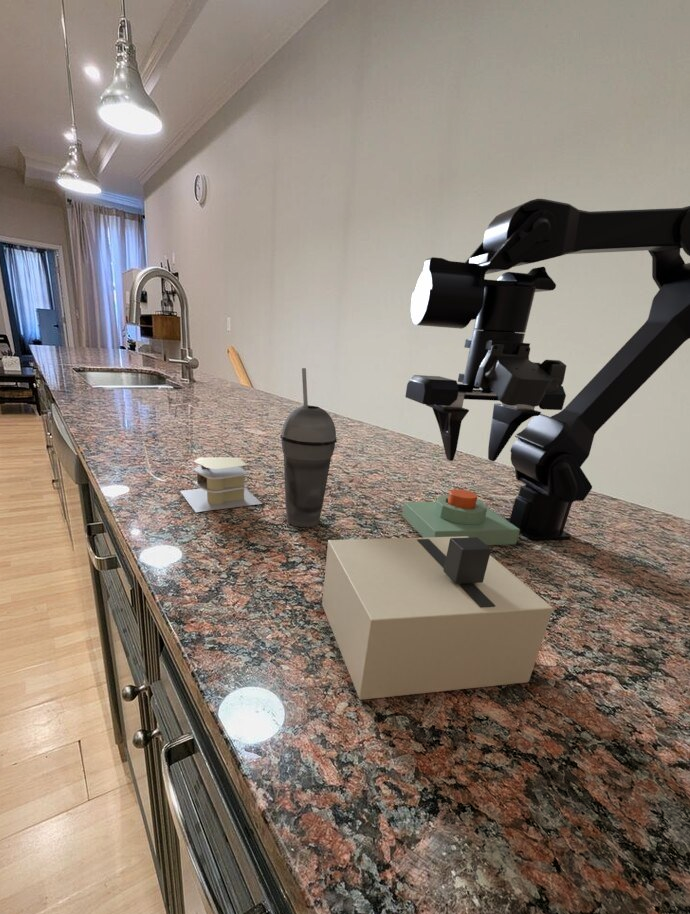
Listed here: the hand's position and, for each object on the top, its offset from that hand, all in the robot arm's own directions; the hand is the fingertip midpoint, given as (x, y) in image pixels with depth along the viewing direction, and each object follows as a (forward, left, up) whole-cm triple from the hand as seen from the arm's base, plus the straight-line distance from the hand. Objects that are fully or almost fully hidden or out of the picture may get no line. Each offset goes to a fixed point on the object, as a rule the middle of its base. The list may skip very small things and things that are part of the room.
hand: (470, 460), depth 58 cm
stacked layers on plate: (+32, -13, -10) cm, 36 cm away
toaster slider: (+14, +24, -3) cm, 28 cm away
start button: (0, 0, -6) cm, 6 cm away
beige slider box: (+16, +22, -10) cm, 29 cm away
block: (0, 0, -10) cm, 10 cm away
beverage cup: (+21, -4, -10) cm, 24 cm away
